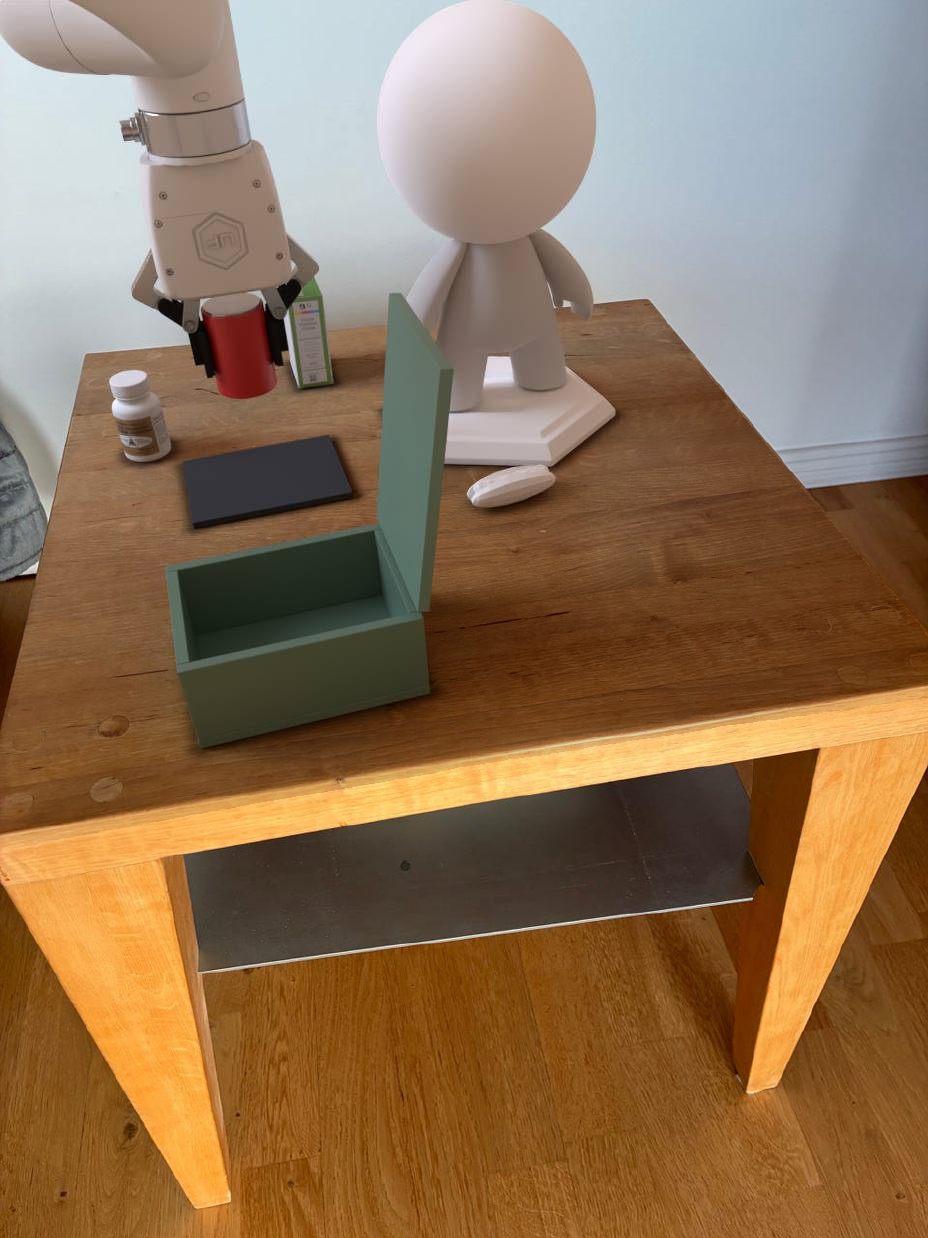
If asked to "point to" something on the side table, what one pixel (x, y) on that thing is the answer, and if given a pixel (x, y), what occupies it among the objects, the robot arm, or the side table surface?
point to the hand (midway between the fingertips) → (243, 363)
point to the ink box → (309, 338)
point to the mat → (264, 481)
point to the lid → (412, 446)
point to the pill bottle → (139, 417)
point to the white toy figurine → (496, 220)
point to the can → (239, 345)
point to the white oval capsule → (510, 486)
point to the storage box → (294, 634)
